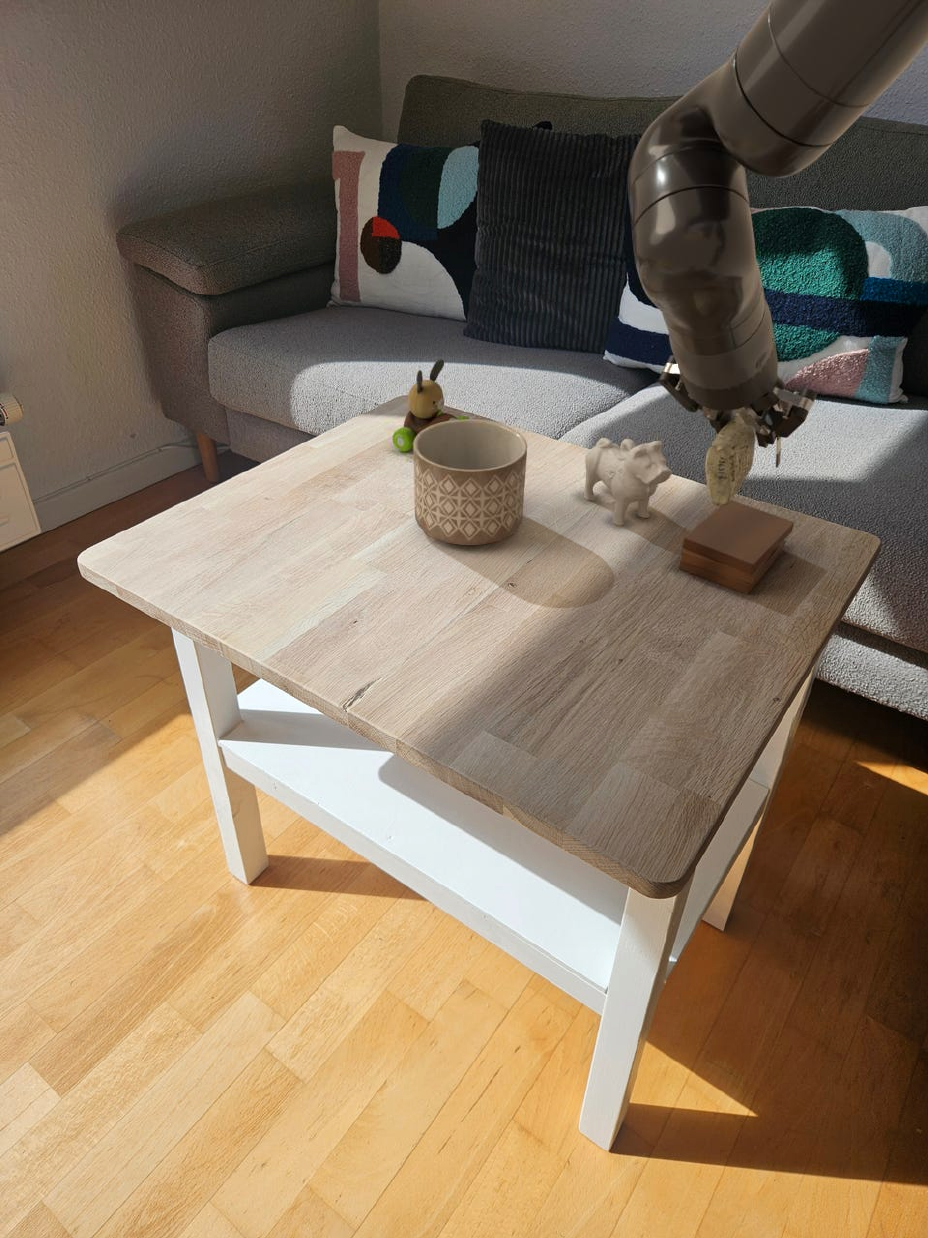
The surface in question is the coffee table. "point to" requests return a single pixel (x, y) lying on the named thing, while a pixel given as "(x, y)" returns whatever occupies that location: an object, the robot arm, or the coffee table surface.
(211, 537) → the coffee table surface
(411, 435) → the bunny pull toy
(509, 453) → the planter
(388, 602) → the coffee table surface
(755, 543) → the slab pile
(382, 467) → the coffee table surface
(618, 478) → the dog figurine
